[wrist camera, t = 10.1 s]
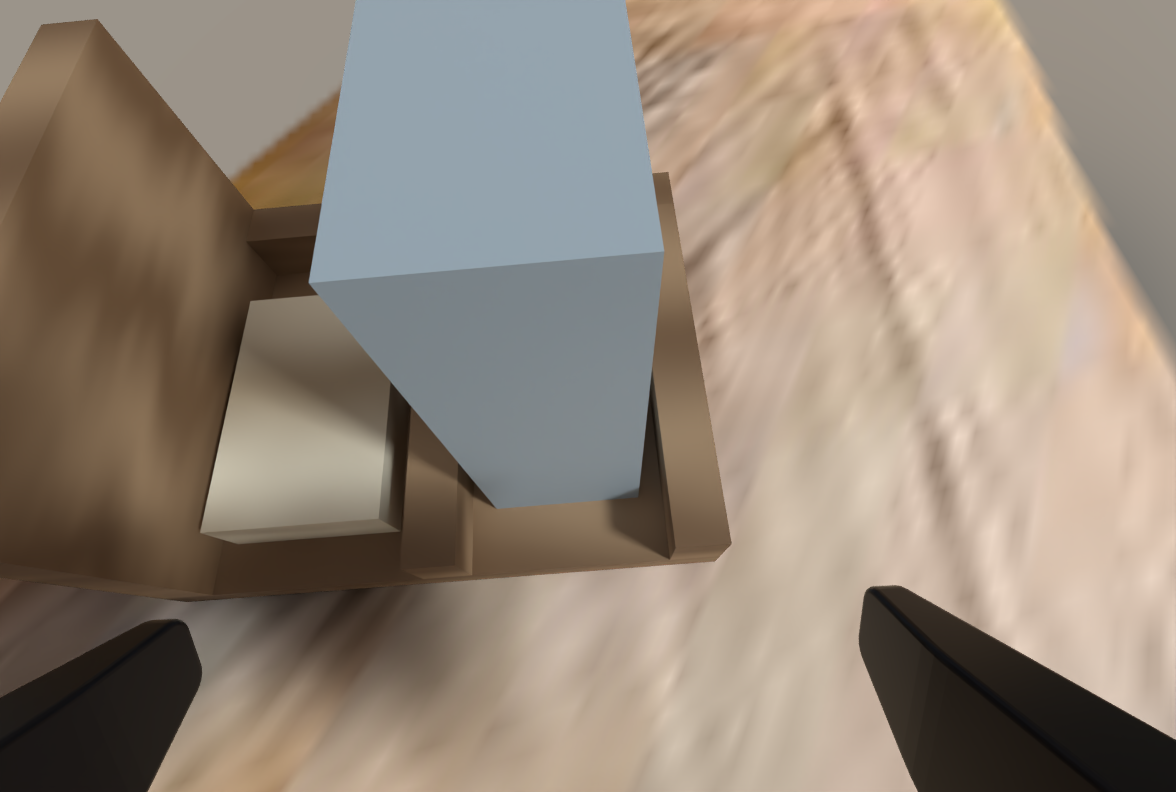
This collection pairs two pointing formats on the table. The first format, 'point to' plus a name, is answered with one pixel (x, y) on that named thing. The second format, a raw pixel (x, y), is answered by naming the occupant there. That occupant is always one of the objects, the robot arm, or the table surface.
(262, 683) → the table surface
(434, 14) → the blue-gray rectangular box
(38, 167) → the book rack
